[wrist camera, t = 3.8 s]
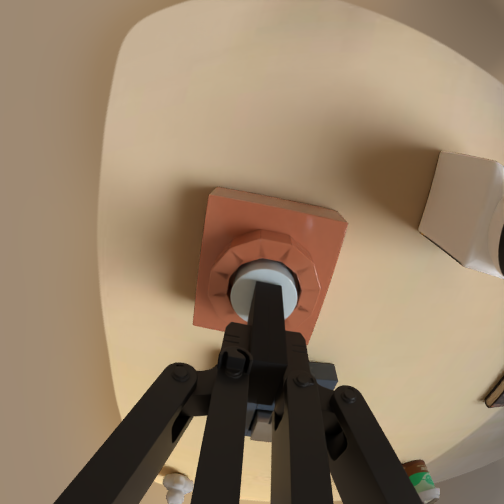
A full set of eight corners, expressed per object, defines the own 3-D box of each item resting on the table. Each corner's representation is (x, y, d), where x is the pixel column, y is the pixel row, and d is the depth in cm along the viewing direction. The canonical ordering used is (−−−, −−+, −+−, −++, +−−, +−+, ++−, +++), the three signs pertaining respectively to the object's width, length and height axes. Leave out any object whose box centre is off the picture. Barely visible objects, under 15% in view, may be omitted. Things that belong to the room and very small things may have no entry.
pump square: (258, 407, 24) (257, 421, 23) (295, 411, 24) (296, 425, 23) (251, 426, 26) (250, 440, 24) (285, 430, 26) (285, 443, 24)
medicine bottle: (415, 231, 21) (507, 308, 10) (439, 149, 18) (552, 174, 7) (470, 249, 21) (553, 317, 10) (492, 178, 19) (590, 217, 7)
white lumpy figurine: (164, 475, 40) (156, 508, 33) (166, 464, 38) (157, 501, 30) (192, 482, 40) (186, 516, 33) (197, 472, 38) (190, 510, 30)
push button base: (233, 350, 26) (228, 380, 22) (334, 364, 26) (341, 393, 23) (220, 414, 30) (215, 441, 27) (302, 424, 30) (304, 450, 27)
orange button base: (216, 186, 21) (202, 200, 16) (337, 210, 21) (356, 231, 16) (200, 303, 24) (187, 340, 20) (303, 321, 25) (310, 360, 20)
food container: (439, 457, 37) (451, 493, 28) (416, 472, 39) (426, 507, 30) (409, 455, 35) (422, 498, 26) (384, 470, 37) (393, 512, 28)
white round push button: (239, 249, 18) (236, 263, 16) (301, 261, 18) (304, 275, 17) (229, 302, 20) (226, 319, 18) (286, 313, 20) (288, 330, 18)
